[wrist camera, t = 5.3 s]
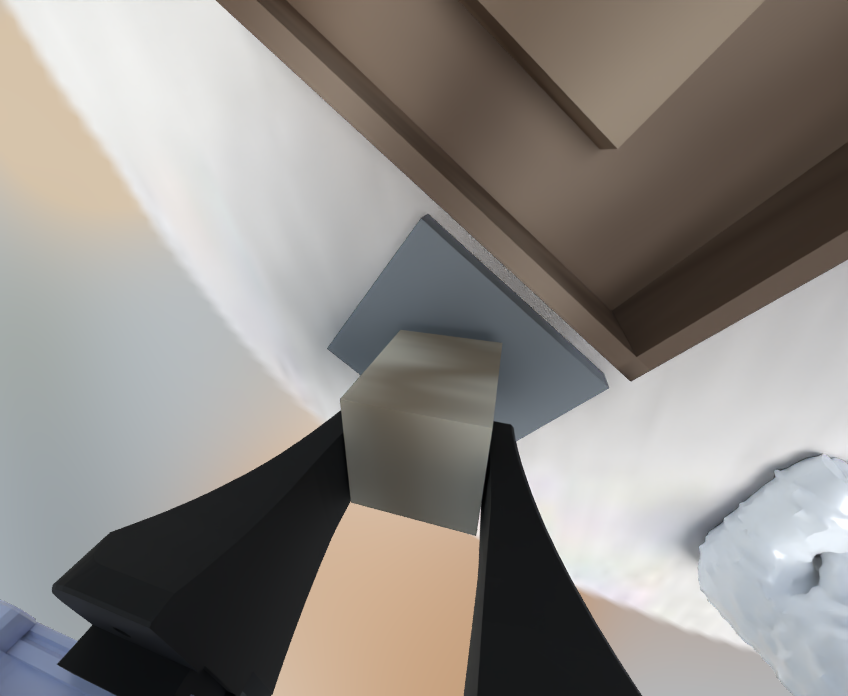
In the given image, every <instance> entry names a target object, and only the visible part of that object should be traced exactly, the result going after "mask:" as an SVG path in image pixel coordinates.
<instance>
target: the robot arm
mask: <svg viewBox="0 0 848 696" xmlns="http://www.w3.org/2000/svg"><path fill="white" fill-rule="evenodd" d="M350 501H351V497H350V487H349V478H348V469H347V460H346V450H345V441H344V432H343V423H342V413H341V411H339V412H338V413H337V414H335V415H334V416H333V417H332V418H330V419H329V420H328V421H326V422H325V423H324V424H322V425H321V426H320V427H318V428H317V429H316V430H314V431H313V432H312V433H310V434H309V435H307V436H306V437H305V438H303V439H302V440H300V441H299V442H297V443H296V444H294V445H293V446H292V447H290V448H288V449H287V450H285V451H284V452H283V453H281V454H279V455H278V456H276V457H275V458H273V459H271V460H270V461H268V462H266V463H264V464H263V465H261V466H259V467H258V468H256V469H254V470H252V471H250V472H249V473H247V474H245V475H243V476H241V477H239V478H237V479H235V480H233V481H231V482H229V483H227V484H225V485H223V486H222V487H219V488H217V489H215V490H213V491H211V492H209V493H207V494H205V495H203V496H200V497H198V498H196V499H194V500H192V501H189V502H187V503H185V504H182V505H180V506H178V507H175V508H173V509H171V510H168V511H166V512H163V513H161V514H158V515H156V516H153V517H150V518H148V519H145V520H142V521H140V522H137V523H135V524H132V525H129V526H126V527H124V528H121V529H118V530H115V531H113V532H110V533H109V534H108V535H107V536H106V537H105V538H103V539H102V540H101V541H100V542H99V543H98V544H97V545H96V546H95V547H94V548H93V549H91V551H89V552H88V553H87V554H86V555H85V556H84V557H83V558H82V559H81V560H80V561H78V562H77V563H76V564H75V565H74V566H73V567H72V568H71V569H70V570H69V571H68V572H66V573H65V574H64V575H63V576H62V577H61V578H60V579H59V580H58V581H57V582H55V583H54V584H53V587H52V593H53V594H54V595H55V596H56V597H57V598H58V599H59V600H61V601H62V602H63V603H64V604H66V605H67V606H68V607H70V608H71V609H72V610H74V611H75V612H76V613H78V614H79V615H80V616H82V617H83V618H84V619H86V620H87V621H88V622H90V623H91V624H92V626H91V627H90V628H89V630H88V631H87V632H86V633H85V634H84V635H83V636H82V637H81V638H80V640H78V641H77V640H74V639H72V638H70V637H68V636H66V635H64V634H62V633H60V632H57V631H55V630H53V629H51V628H49V627H47V626H45V625H42V624H40V623H38V622H36V619H35V618H34V617H32V616H31V615H29V614H28V613H26V612H24V611H23V610H21V609H19V608H17V607H16V606H14V605H12V604H10V603H8V602H5V601H3V600H1V599H0V696H271V695H272V694H273V691H274V688H275V685H276V682H277V679H278V676H279V673H280V671H281V668H282V665H283V662H284V659H285V656H286V653H287V651H288V648H289V645H290V642H291V639H292V637H293V634H294V631H295V629H296V626H297V623H298V621H299V618H300V615H301V612H302V610H303V607H304V604H305V602H306V599H307V597H308V594H309V592H310V589H311V587H312V584H313V582H314V579H315V577H316V574H317V572H318V569H319V567H320V564H321V562H322V560H323V557H324V555H325V553H326V550H327V548H328V546H329V543H330V541H331V538H332V536H333V534H334V532H335V530H336V528H337V526H338V524H339V522H340V520H341V518H342V516H343V515H344V513H345V511H346V509H347V507H348V505H349V503H350ZM464 696H642V695H641V693H640V692H639V690H638V689H637V687H636V686H635V684H634V683H633V682H632V680H631V678H630V677H629V675H628V673H627V672H626V670H625V669H624V667H623V666H622V664H621V663H620V661H619V659H618V658H617V656H616V655H615V653H614V651H613V650H612V648H611V647H610V645H609V643H608V642H607V640H606V638H605V637H604V635H603V633H602V632H601V630H600V629H599V627H598V625H597V624H596V622H595V620H594V618H593V617H592V615H591V613H590V611H589V610H588V608H587V606H586V604H585V602H584V601H583V599H582V597H581V595H580V594H579V592H578V590H577V588H576V587H575V585H574V583H573V581H572V580H571V578H570V576H569V574H568V572H567V570H566V568H565V566H564V564H563V562H562V560H561V558H560V556H559V554H558V552H557V550H556V548H555V546H554V544H553V542H552V540H551V538H550V536H549V534H548V531H547V529H546V527H545V525H544V522H543V520H542V518H541V515H540V513H539V510H538V508H537V505H536V503H535V501H534V498H533V495H532V493H531V490H530V487H529V484H528V481H527V478H526V475H525V472H524V470H523V466H522V463H521V459H520V456H519V452H518V448H517V444H516V439H515V433H514V427H513V426H512V425H511V424H506V423H501V422H496V421H493V428H492V435H491V441H490V448H489V454H488V461H487V468H486V474H485V481H484V487H483V494H482V500H481V519H480V547H479V568H478V581H477V590H476V598H475V606H474V615H473V623H472V631H471V640H470V648H469V656H468V665H467V673H466V681H465V689H464Z"/></svg>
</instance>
